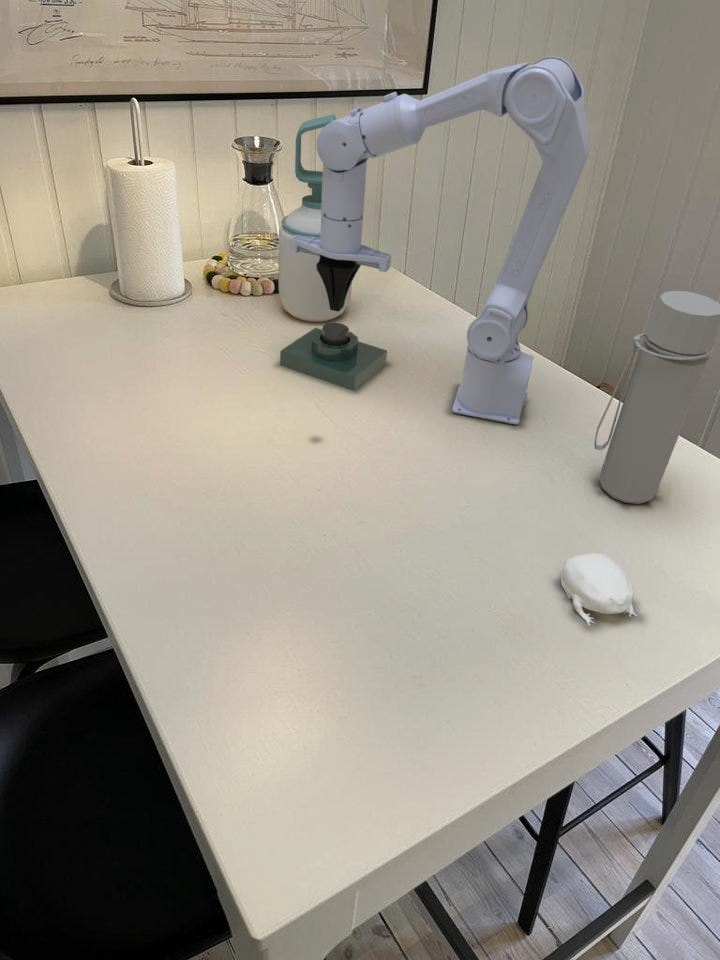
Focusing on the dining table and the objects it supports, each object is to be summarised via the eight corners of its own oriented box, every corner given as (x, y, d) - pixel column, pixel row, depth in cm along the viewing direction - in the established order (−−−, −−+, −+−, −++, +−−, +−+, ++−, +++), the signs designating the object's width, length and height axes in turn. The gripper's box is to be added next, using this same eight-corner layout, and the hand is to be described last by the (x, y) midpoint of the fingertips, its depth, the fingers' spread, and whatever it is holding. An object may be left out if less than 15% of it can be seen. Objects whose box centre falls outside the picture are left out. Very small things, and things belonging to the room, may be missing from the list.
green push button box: (385, 364, 117) (388, 338, 114) (354, 391, 110) (356, 363, 107) (314, 341, 121) (315, 315, 119) (279, 365, 114) (280, 338, 112)
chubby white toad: (643, 619, 77) (655, 592, 75) (586, 630, 75) (595, 603, 73) (602, 566, 83) (612, 540, 81) (548, 575, 81) (556, 549, 79)
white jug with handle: (348, 329, 126) (362, 128, 107) (274, 324, 125) (275, 121, 107) (350, 299, 136) (363, 110, 117) (281, 294, 135) (283, 104, 117)
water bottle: (656, 479, 97) (726, 296, 82) (655, 514, 91) (730, 324, 76) (584, 462, 99) (640, 280, 84) (578, 495, 93) (637, 306, 78)
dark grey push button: (352, 339, 114) (353, 327, 113) (339, 349, 111) (340, 337, 110) (330, 332, 115) (331, 320, 114) (316, 342, 112) (317, 329, 111)
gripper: (402, 216, 103) (392, 308, 111) (305, 197, 107) (303, 288, 115) (384, 230, 98) (375, 327, 106) (283, 210, 101) (282, 305, 109)
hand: (336, 308), depth 110 cm, fingers closed
